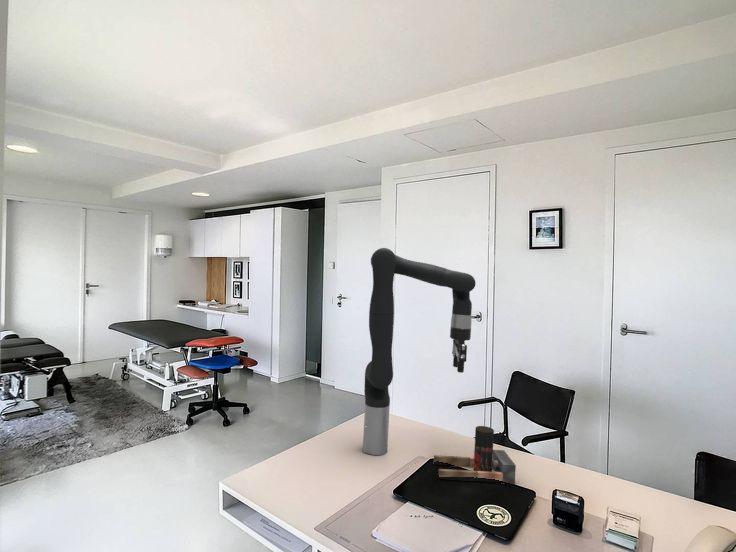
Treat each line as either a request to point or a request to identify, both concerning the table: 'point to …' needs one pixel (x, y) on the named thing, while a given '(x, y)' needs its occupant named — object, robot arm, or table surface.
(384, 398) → the robot arm
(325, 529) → the table surface
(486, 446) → the deodorant
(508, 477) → the guide channel
